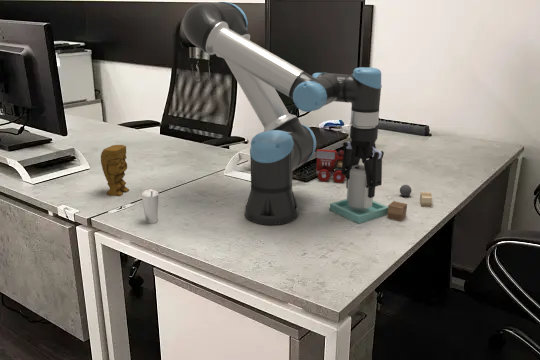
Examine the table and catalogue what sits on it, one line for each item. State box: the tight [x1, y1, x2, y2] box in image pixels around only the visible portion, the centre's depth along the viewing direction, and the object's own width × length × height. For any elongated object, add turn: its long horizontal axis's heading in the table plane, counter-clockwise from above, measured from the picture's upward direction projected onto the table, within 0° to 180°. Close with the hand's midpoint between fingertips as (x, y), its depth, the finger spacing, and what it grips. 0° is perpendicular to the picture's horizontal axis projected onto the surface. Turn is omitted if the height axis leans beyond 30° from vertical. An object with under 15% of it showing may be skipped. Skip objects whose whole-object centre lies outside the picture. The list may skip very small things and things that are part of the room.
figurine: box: [100, 144, 130, 197], centre depth 164 cm, size 7×7×15 cm
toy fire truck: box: [315, 148, 347, 184], centre depth 177 cm, size 7×12×10 cm, turn 76°
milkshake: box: [141, 188, 159, 224], centre depth 143 cm, size 5×5×10 cm
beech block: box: [419, 191, 433, 208], centre depth 157 cm, size 5×3×3 cm, turn 168°
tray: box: [329, 198, 388, 225], centre depth 152 cm, size 12×12×2 cm
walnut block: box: [386, 200, 408, 222], centre depth 148 cm, size 4×4×4 cm
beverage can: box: [348, 164, 367, 210], centre depth 149 cm, size 6×6×12 cm
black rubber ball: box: [399, 184, 412, 197], centre depth 163 cm, size 4×4×4 cm
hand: (359, 203), depth 151 cm, fingers closed on beverage can, 6 cm apart
